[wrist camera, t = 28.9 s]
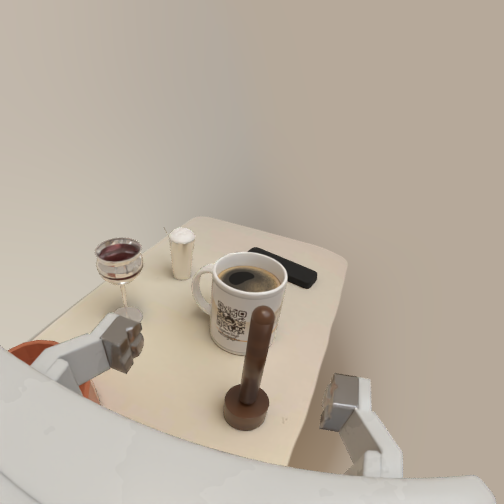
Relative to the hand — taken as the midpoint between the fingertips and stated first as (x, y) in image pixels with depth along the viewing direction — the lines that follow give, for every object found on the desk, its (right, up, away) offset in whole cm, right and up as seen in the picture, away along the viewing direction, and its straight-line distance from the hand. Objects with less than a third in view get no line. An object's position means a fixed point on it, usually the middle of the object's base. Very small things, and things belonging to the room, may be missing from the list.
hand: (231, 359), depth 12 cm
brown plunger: (0, -15, +22) cm, 27 cm away
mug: (-2, -7, +36) cm, 36 cm away
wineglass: (-19, -6, +34) cm, 39 cm away
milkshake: (-12, 0, +45) cm, 47 cm away
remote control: (+6, +1, +51) cm, 51 cm away
